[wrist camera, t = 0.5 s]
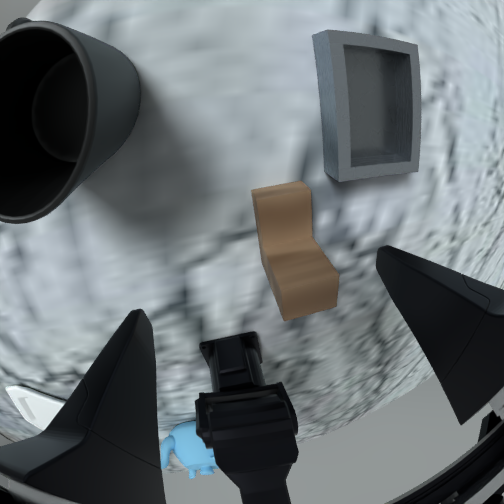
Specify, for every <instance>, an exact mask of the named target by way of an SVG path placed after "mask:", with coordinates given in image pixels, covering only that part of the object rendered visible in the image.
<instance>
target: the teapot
mask: <svg viewBox="0 0 504 504" xmlns="http://www.w3.org/2000/svg"><path fill="white" fill-rule="evenodd" d="M171 450H173V452H174V454H175V455H176V457H177V458H178V459H179V461H180V462H181V463H182V464H183V465H184V466H185V467H186V468H188V469H189V478H190V479H193V478H194V477H195V476H196V471H197V470H201V471H200V474H202V475H210V474H214V471H213V469H218V468H219V467H218V466H217V465H216V462H215V458H214V452H213V449H206V447H205V443H203V441H202V439H201V438H200V437H198V436H197V435H196V421H189V422H184V423H181V424H178V425H177V426H175V427H174V428H173V429H172V431H171V432H170V433H169V436H168V437H166V438H165V439H164V440H163V442H162V444H161V469H163V468H166V467H167V466H168V464H169V454H170V451H171Z"/></svg>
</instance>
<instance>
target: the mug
mask: <svg viewBox="0 0 504 504" xmlns="http://www.w3.org/2000/svg"><path fill="white" fill-rule="evenodd" d="M140 96H141V93H140V84H139V79H138V75H137V73H136V70H135V68H134V66H133V65H132V63H131V62H130V60H129V59H128V58H127V57H126V56H125V55H124V54H123V53H122V52H121V51H119V50H118V49H116V48H115V47H113V46H111V45H108V44H106V43H104V42H102V41H100V40H98V39H95V38H93V37H91V36H88V35H86V34H84V33H81V32H79V31H76V30H74V29H71V28H69V27H66V26H63V25H61V24H58V23H54V22H49V21H32V20H30V19H28V18H18V19H16V20H15V21H13V22H12V23H11V24H9V25H8V27H7V29H6V31H5V32H4V33H2V34H1V35H0V221H2V222H5V223H12V224H21V223H28V222H32V221H35V220H38V219H40V218H42V217H44V216H46V215H48V214H49V213H51V212H52V211H53V210H54V209H56V208H57V207H58V206H59V205H60V204H61V203H62V202H63V201H64V200H65V199H66V198H67V197H68V196H69V195H70V194H71V193H72V192H73V191H74V190H75V189H76V188H77V187H78V186H79V185H80V184H81V183H82V182H83V181H84V180H85V179H86V178H87V177H88V176H89V175H90V174H91V173H93V172H94V171H95V170H96V169H97V168H98V167H99V166H100V165H101V164H102V163H104V162H105V161H106V160H107V159H108V158H109V157H110V156H112V155H113V154H114V153H115V152H116V151H117V150H118V149H119V148H120V147H121V146H122V145H123V143H124V142H125V141H126V139H127V138H128V136H129V135H130V133H131V131H132V129H133V127H134V124H135V122H136V119H137V116H138V112H139V107H140Z"/></svg>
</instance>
